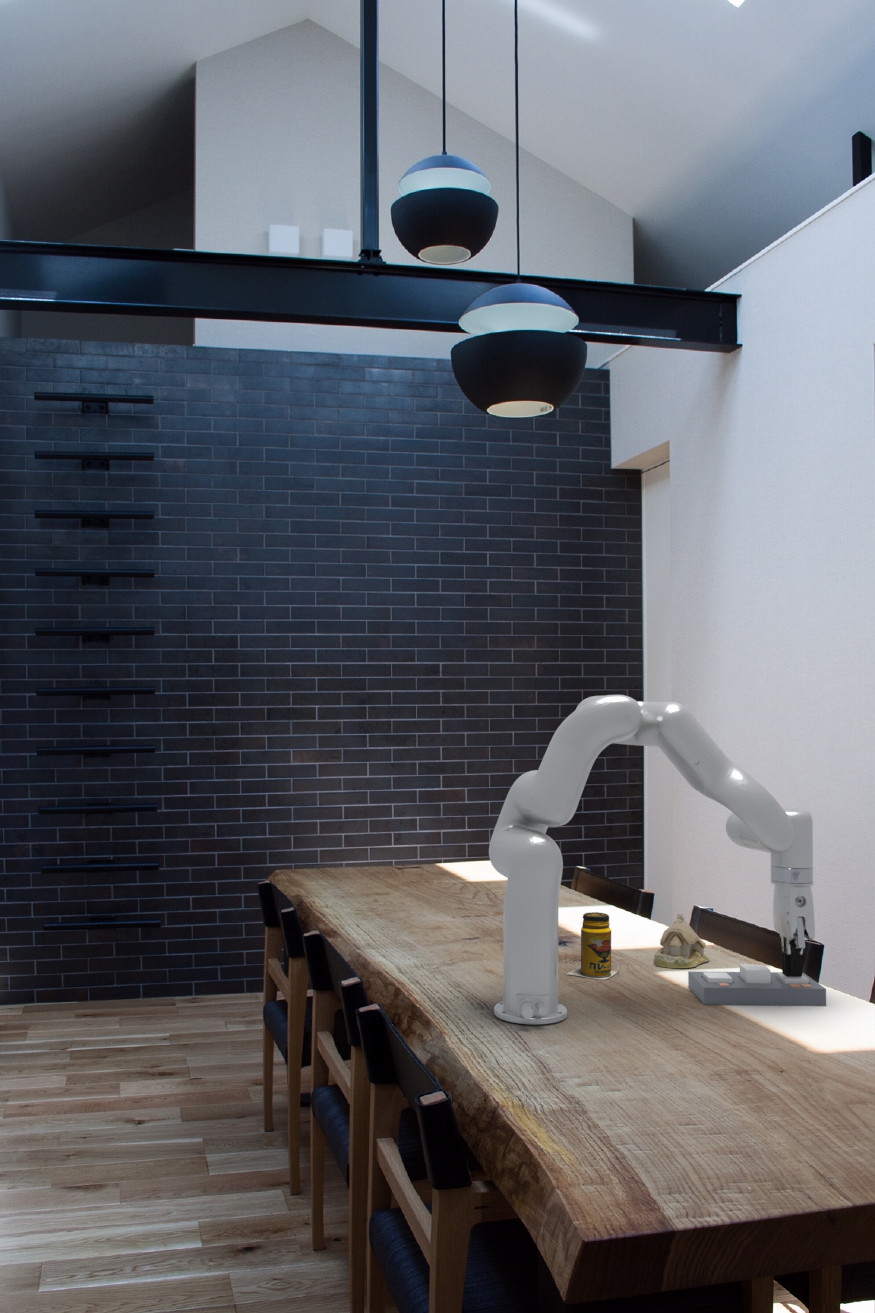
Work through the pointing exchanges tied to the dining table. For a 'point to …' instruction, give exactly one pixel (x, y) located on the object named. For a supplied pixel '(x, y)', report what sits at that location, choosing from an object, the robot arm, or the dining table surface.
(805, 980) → the key
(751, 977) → the key
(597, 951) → the condiment
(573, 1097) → the dining table surface
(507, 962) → the robot arm
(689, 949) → the ceramic model
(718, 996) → the keypad
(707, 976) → the key
